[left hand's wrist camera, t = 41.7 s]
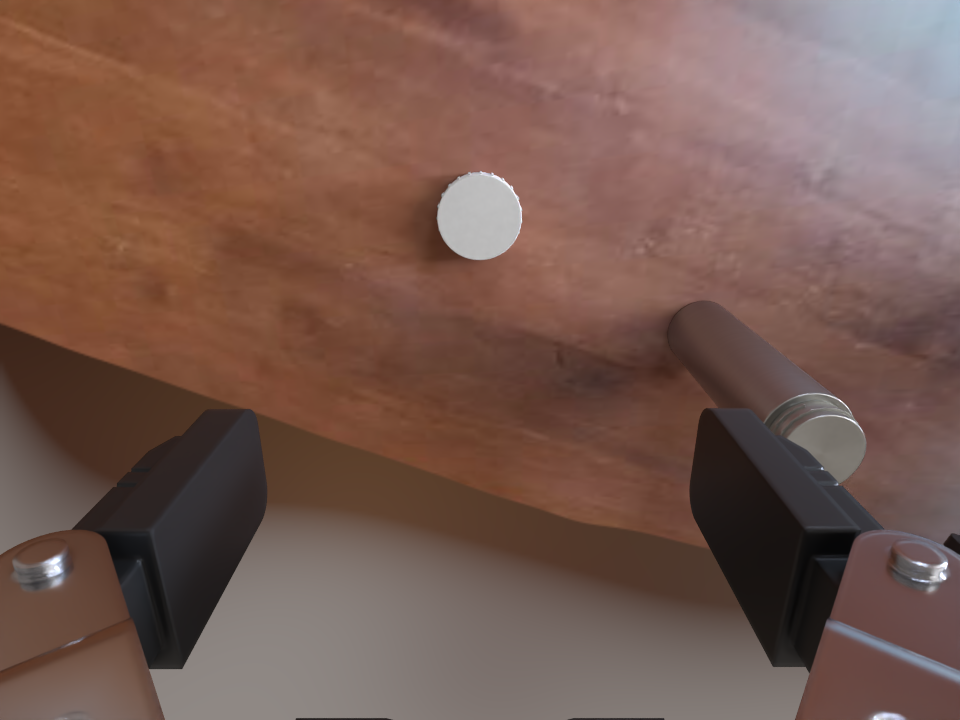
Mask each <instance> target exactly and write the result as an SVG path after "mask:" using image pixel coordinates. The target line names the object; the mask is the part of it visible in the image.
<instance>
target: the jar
mask: <svg viewBox="0 0 960 720" xmlns="http://www.w3.org/2000/svg"><path fill="white" fill-rule="evenodd" d="M668 343H669V346H670V348H671V350H672V351H673V352H674V354H675V355H676V356H677V357H678V358H679V360H680V361H681V362H682V363H683V365H684V366H685V367H686V368H687V369H688V371H689V372H690V373H691V374H692V376H693V377H694V378H695V379H696V381H697V382H698V383H699V384H700V385H701V387H702V388H703V389H704V390H705V392H706V393H707V394H708V395H709V396H710V398H711V399H712V400H713V401H714V403H715V404H716V405H717V406H718V408H748V409H751V410H752V411H753V412H754V413H755V414H756V415H757V417H758V418H759V419H760V420H761V421H762V422H763V423H764V424H765V425H766V426H767V427H768V429H769V430H770V431H771V432H772V433H773V434H774V435H781V436H783V437H785V438H787V439H788V440H790V441H792V442H794V443H796V444H797V445H799V446H801V447H803V448H804V449H806V450H808V451H809V452H810V453H811V454H812V456H813V457H814V458H815V459H816V460H817V461H818V462H819V463H820V464H821V465H822V466H823V467H824V471H828V472H829V473H830V474H831V475H832V476H833V477H834V478H835V479H836V480H837V481H838V484H840V483H842V482H843V481H845V480H846V479H847V478H849V476H851V475H852V474H853V473H854V472H855V471H856V469H857V468H858V467H859V465H860V464H861V462H862V460H863V458H864V455H865V451H866V439H865V435H864V433H863V431H862V429H861V428H860V426H859V424H858V423H857V421H856V420H855V419H854V418H853V416H852V413H851V411H850V410H849V408H848V407H847V406H846V404H845V403H843V402H842V401H841V400H840V399H838V398H837V397H836V396H835V395H833V394H832V393H831V392H830V391H828V390H827V389H826V388H825V387H823V386H822V385H821V384H819V383H818V382H817V381H816V380H814V379H813V378H812V377H811V376H809V375H808V374H807V373H806V372H804V371H803V370H802V369H800V368H799V367H798V366H797V365H795V364H794V363H793V362H792V361H790V360H789V359H788V358H787V357H785V356H784V355H783V354H782V353H780V352H779V351H778V350H776V349H775V348H774V347H773V346H771V345H770V344H769V343H768V342H766V341H765V340H764V339H763V338H761V337H760V336H759V335H758V334H756V333H755V332H754V331H752V330H751V329H750V328H749V327H747V326H746V325H745V324H744V323H742V322H741V321H740V320H739V319H737V318H736V317H735V316H733V315H732V314H731V313H730V312H728V311H727V310H726V309H725V308H723V307H722V306H721V305H719V304H717V303H714V302H710V301H699V302H694V303H691V304H689V305H687V306H685V307H684V308H682V309H681V310H680V311H679V312H678V313H677V314H676V315H675V316H674V318H673V319H672V321H671V323H670V325H669V329H668Z"/></svg>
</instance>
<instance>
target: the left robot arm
mask: <svg viewBox="0 0 960 720" xmlns="http://www.w3.org/2000/svg"><path fill="white" fill-rule="evenodd" d="M266 503H267V482H266V475H265V469H264V462H263V455H262V448H261V442H260V435H259V428H258V422H257V418H256V415H255V413H254V412H253V411H252V410H251V409H208V410H206V411H205V412H203V413H202V415H201V416H200V417H199V418H198V419H197V420H196V421H195V422H194V423H193V424H192V425H191V426H190V427H189V429H188V430H187V431H186V432H185V433H184V434H183V435H182V436H175V437H173V438H171V439H170V440H168V441H166V442H164V443H162V444H161V445H159V446H157V447H155V448H154V449H152V450H150V451H148V453H146V454H145V456H144V457H143V458H142V459H141V460H140V461H139V462H138V463H137V464H136V465H135V466H134V467H133V468H132V471H131V472H128V473H127V474H126V475H125V476H124V477H123V478H122V479H121V480H120V481H119V482H118V483H117V487H113V488H112V489H111V490H110V491H109V492H108V493H107V494H106V495H105V496H104V497H103V498H102V499H101V500H100V501H99V502H98V503H97V504H96V505H95V506H94V507H93V508H92V509H91V510H90V511H89V512H88V513H87V514H86V515H85V516H84V517H83V518H82V519H81V520H80V521H79V522H78V524H77V525H76V526H75V527H74V528H73V529H72V530H66V531H59V532H54V533H49V534H46V535H42V536H39V537H36V538H33V539H31V540H28V541H26V542H23V543H21V544H19V545H17V546H15V547H13V548H11V549H9V550H7V551H6V552H4V553H3V554H1V555H0V720H165V718H164V715H163V712H162V709H161V706H160V703H159V700H158V696H157V693H156V690H155V687H154V684H153V681H152V678H151V674H150V671H149V669H182V668H183V666H184V664H185V663H186V661H187V659H188V657H189V655H190V653H191V651H192V650H193V648H194V646H195V644H196V642H197V640H198V638H199V637H200V635H201V633H202V631H203V629H204V627H205V625H206V624H207V622H208V620H209V618H210V616H211V614H212V612H213V610H214V609H215V607H216V605H217V603H218V601H219V599H220V598H221V596H222V594H223V592H224V590H225V588H226V586H227V585H228V583H229V581H230V579H231V577H232V575H233V573H234V572H235V570H236V568H237V566H238V564H239V562H240V560H241V559H242V557H243V555H244V553H245V551H246V549H247V547H248V545H249V544H250V542H251V540H252V538H253V536H254V534H255V532H256V531H257V529H258V527H259V525H260V523H261V521H262V519H263V516H264V513H265V509H266ZM690 504H691V509H692V513H693V516H694V519H695V521H696V523H697V524H698V526H699V528H700V530H701V532H702V534H703V536H704V538H705V540H706V541H707V543H708V545H709V547H710V549H711V551H712V553H713V555H714V556H715V558H716V560H717V562H718V564H719V566H720V568H721V569H722V572H723V573H724V575H725V577H726V579H727V581H728V583H729V585H730V587H731V588H732V590H733V592H734V594H735V596H736V598H737V600H738V602H739V604H740V605H741V607H742V609H743V611H744V613H745V615H746V617H747V618H748V620H749V622H750V624H751V626H752V628H753V630H754V632H755V634H756V636H757V637H758V639H759V641H760V643H761V645H762V647H763V649H764V651H765V652H766V654H767V656H768V658H769V660H770V662H771V664H772V666H773V667H806V668H807V670H808V671H809V673H810V675H809V678H808V681H807V684H806V687H805V690H804V693H803V696H802V700H801V703H800V706H799V709H798V712H797V715H796V719H795V720H960V555H959V554H957V553H956V552H954V551H953V550H951V549H949V548H947V547H945V546H943V545H941V544H939V543H937V542H934V541H932V540H929V539H927V538H924V537H921V536H918V535H914V534H911V533H906V532H901V531H894V530H885V529H884V528H883V527H882V526H881V525H880V524H879V523H878V522H877V521H876V520H875V519H874V518H873V517H872V516H871V515H870V514H869V513H868V512H867V511H866V510H865V509H864V508H863V507H862V506H861V505H860V504H859V503H858V502H857V501H856V500H855V499H854V497H853V496H852V495H851V494H850V493H849V492H848V491H847V490H846V489H845V488H844V487H843V486H839V485H838V481H837V480H836V479H835V478H834V477H833V476H832V475H831V474H830V473H829V472H828V471H824V467H823V466H822V465H821V464H820V463H819V462H818V461H817V460H816V459H815V458H814V457H813V456H812V454H811V453H810V452H809V451H808V450H806V449H804V448H803V447H801V446H799V445H797V444H796V443H794V442H792V441H790V440H788V439H787V438H785V437H783V436H781V435H774V434H773V433H772V432H771V431H770V430H769V429H768V427H767V426H766V425H765V424H764V423H763V422H762V421H761V420H760V419H759V418H758V417H757V415H756V414H755V413H754V412H753V411H752V410H751V409H748V408H706V409H704V410H703V412H702V413H701V416H700V419H699V424H698V431H697V438H696V445H695V452H694V459H693V466H692V473H691V480H690ZM296 720H391V719H387V718H296ZM569 720H664V718H573V719H569Z"/></svg>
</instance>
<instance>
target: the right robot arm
mask: <svg viewBox="0 0 960 720" xmlns="http://www.w3.org/2000/svg"><path fill="white" fill-rule="evenodd" d="M944 546H945V547H947V548H949V549H951V550H953V551H954V552H956V553H957V554H959V555H960V535H957V534H953V533H952V534H951V535H950V536H949V537H948V539H947V540H946V541H945V543H944Z"/></svg>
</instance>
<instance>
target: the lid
mask: <svg viewBox="0 0 960 720" xmlns="http://www.w3.org/2000/svg"><path fill="white" fill-rule="evenodd" d="M512 189H513V188H512V186H509V185H508V184H507V183H506V182H505V181H504V179H503V178H502V179H501V178H499V177H497V176H495V175H494V174H493V173H491V174H490V173H485V172H482V171H480V172H474V173H470V172H468V174H466V175H463V176H461V177H460V176H459V177H458V178H457V179H456V180H455V181H454V182H453V183H452V184H449V185H448V188H447V189H446V191H445V192H444V193H442V195H441V197H442V199H441V201H440V204H438V206H437V208H438V212H437V218H436V220H437V222H438V228H439V229H438V230H439V231H440V234H441V236H442V238H443V240H444V241H445V243H446V244H447V245H448V246H449V247H450V248H451V250H453V251H454V252H456V253H457V254H459V255H461V256H463V257H465V258H468V259H473V260H486V259H491V258H494V257H496V256H498V255H500V254H502V253H503V252H505V251H506V250H507V249H508V248H509V247H510V246H511V245H512V244H513V243H514V241H515V239H516V238H517V236H518V234H519V230H520V227H521V223H522V216H521V211H522V208H521V207H520V204H519V201H518V200H519V198H518V196H516V195H515V193H514V191H513V190H512Z"/></svg>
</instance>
